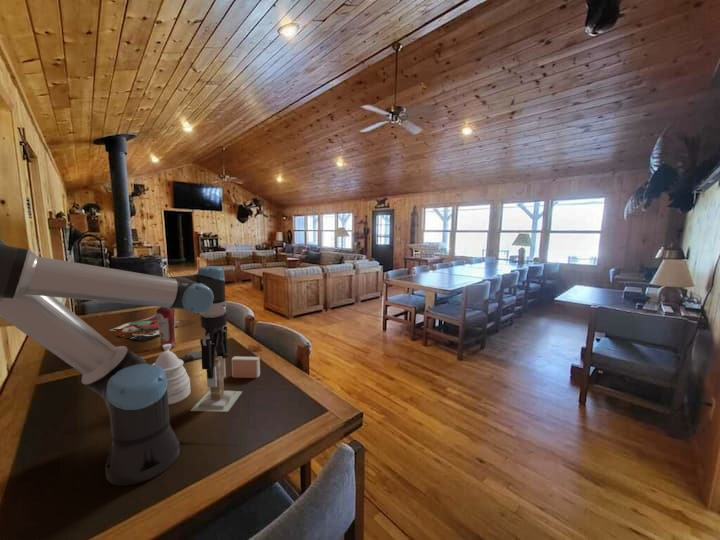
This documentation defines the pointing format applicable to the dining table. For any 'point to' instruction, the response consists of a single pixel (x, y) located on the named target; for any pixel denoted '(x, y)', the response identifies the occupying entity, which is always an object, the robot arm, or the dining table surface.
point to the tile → (245, 367)
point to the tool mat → (226, 409)
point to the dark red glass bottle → (166, 326)
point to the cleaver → (191, 356)
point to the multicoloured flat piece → (142, 328)
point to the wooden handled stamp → (217, 390)
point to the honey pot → (174, 375)
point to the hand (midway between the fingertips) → (216, 381)
